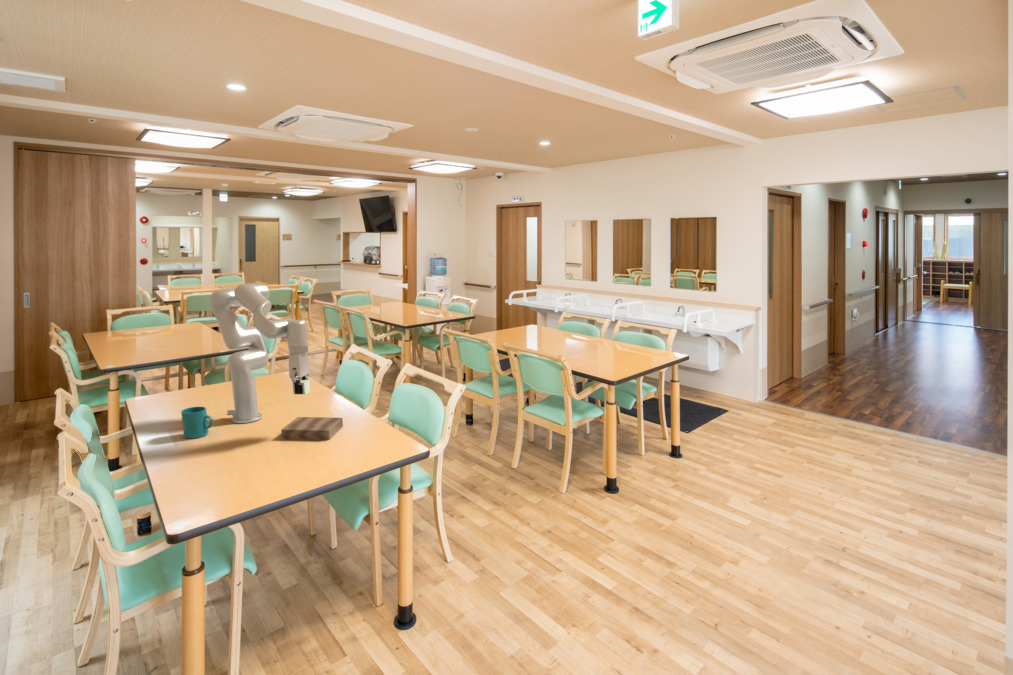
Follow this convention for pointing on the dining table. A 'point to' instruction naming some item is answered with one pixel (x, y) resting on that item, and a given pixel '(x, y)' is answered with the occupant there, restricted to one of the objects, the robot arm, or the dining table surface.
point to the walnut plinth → (312, 428)
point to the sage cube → (304, 386)
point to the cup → (195, 422)
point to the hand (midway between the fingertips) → (301, 391)
